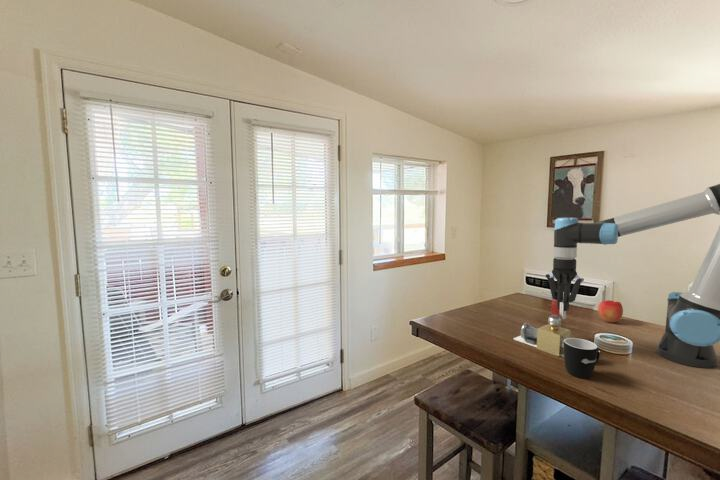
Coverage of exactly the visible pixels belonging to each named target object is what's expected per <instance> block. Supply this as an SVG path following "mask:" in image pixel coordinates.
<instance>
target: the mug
mask: <svg viewBox="0 0 720 480" xmlns="http://www.w3.org/2000/svg"><path fill="white" fill-rule="evenodd" d="M598 348H599V347H598V345H597V343H595V342H592V341H590V340H588V339H583V338H576V337H570V338H567V339H565V340H564V357H563V358H564V359H563V361H564V365H565V366H564V367H565V370H566V372H567V373H568V374H569V375H570V376H572V377H576V378H579V379H589V378H591V377H592V375H594V371H595V368H596V364H597V363H598V362H599V359H600V357H601V356H600V354H601V353H599V351H600V350H599V349H598Z"/></svg>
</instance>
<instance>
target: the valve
mask: <svg viewBox="0 0 720 480" xmlns="http://www.w3.org/2000/svg"><path fill="white" fill-rule="evenodd" d="M519 332H520V334H519V336H520V335H521V337H522V338H523V339H526V342H527V343H530V344H532V345H534V344H537V347H536V349H537V350H538V351H542V352H544V353H548V354H551V355H552V356H553V355H554V356H556V357H561V356H560V355H561V354H563V353H564V340H565V339H567V338H571V332H572V331H571V329H568V328H565V327H561V326H551V325H549V324H548V323H547V324H544V325H542V326H540V327H534V326H532V324H531V323H530V322H523V324H522V325H521V328H520V331H519Z"/></svg>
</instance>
